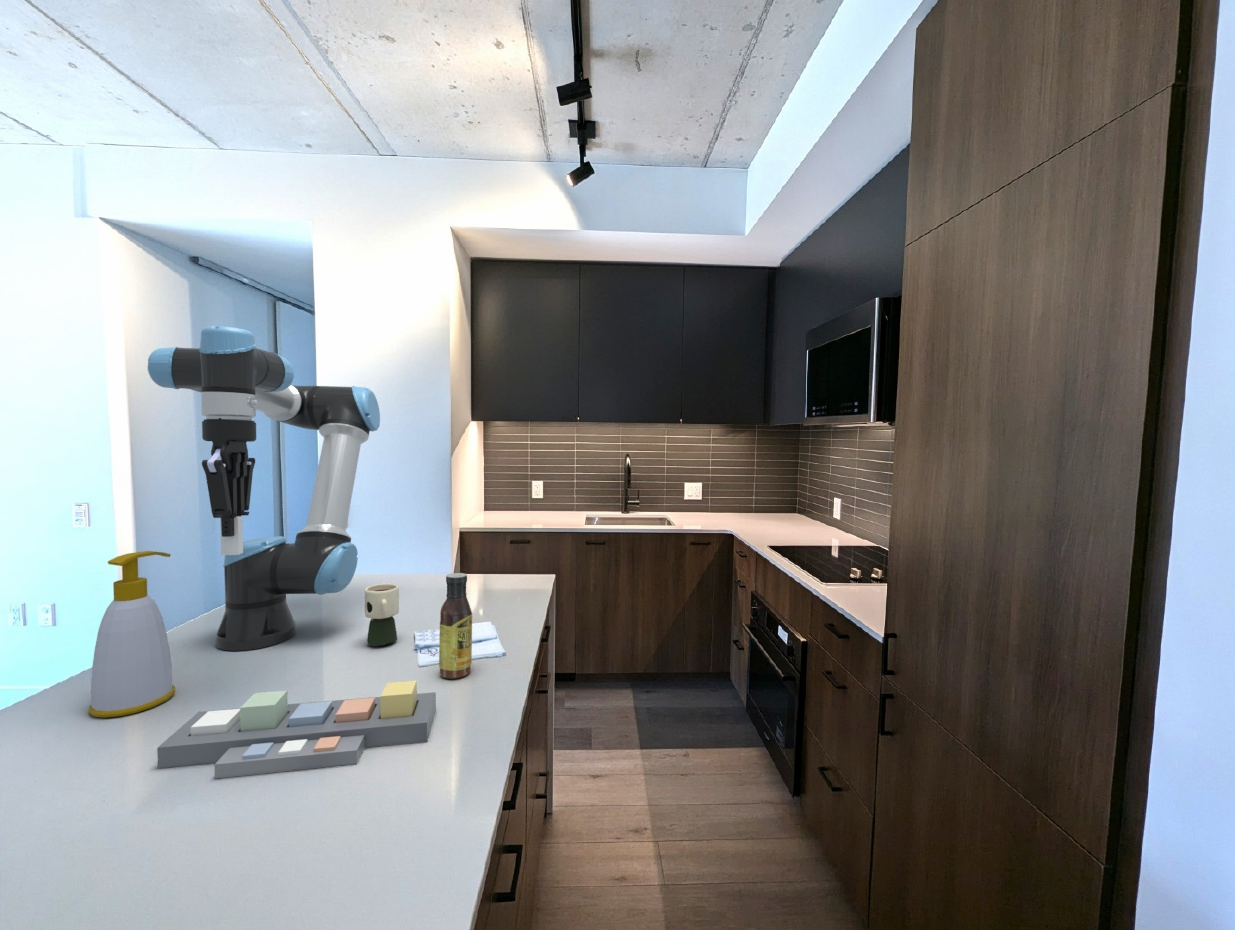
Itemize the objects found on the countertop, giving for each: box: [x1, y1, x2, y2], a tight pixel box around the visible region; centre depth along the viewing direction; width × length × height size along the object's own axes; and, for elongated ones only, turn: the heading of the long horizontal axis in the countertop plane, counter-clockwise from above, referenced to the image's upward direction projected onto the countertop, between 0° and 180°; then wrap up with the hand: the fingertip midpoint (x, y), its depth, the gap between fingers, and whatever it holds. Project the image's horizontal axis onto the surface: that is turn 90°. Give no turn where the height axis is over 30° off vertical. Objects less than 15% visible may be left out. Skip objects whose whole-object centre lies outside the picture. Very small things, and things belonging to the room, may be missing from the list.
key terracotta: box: [335, 697, 375, 723], centre depth 83 cm, size 5×5×4 cm
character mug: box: [364, 583, 400, 647], centre depth 119 cm, size 11×7×13 cm, turn 30°
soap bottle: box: [88, 550, 176, 719], centre depth 91 cm, size 11×12×26 cm
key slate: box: [289, 700, 333, 727], centre depth 82 cm, size 5×5×4 cm
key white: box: [191, 708, 240, 736], centre depth 79 cm, size 5×5×4 cm
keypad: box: [156, 691, 437, 780], centre depth 80 cm, size 14×36×3 cm, turn 102°
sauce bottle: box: [438, 572, 473, 680], centre depth 104 cm, size 7×6×20 cm
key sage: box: [239, 690, 289, 732], centre depth 80 cm, size 5×5×4 cm
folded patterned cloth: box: [413, 621, 507, 668], centre depth 119 cm, size 19×20×2 cm
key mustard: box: [380, 680, 418, 719], centre depth 84 cm, size 5×5×4 cm
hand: (232, 553), depth 91 cm, fingers closed
